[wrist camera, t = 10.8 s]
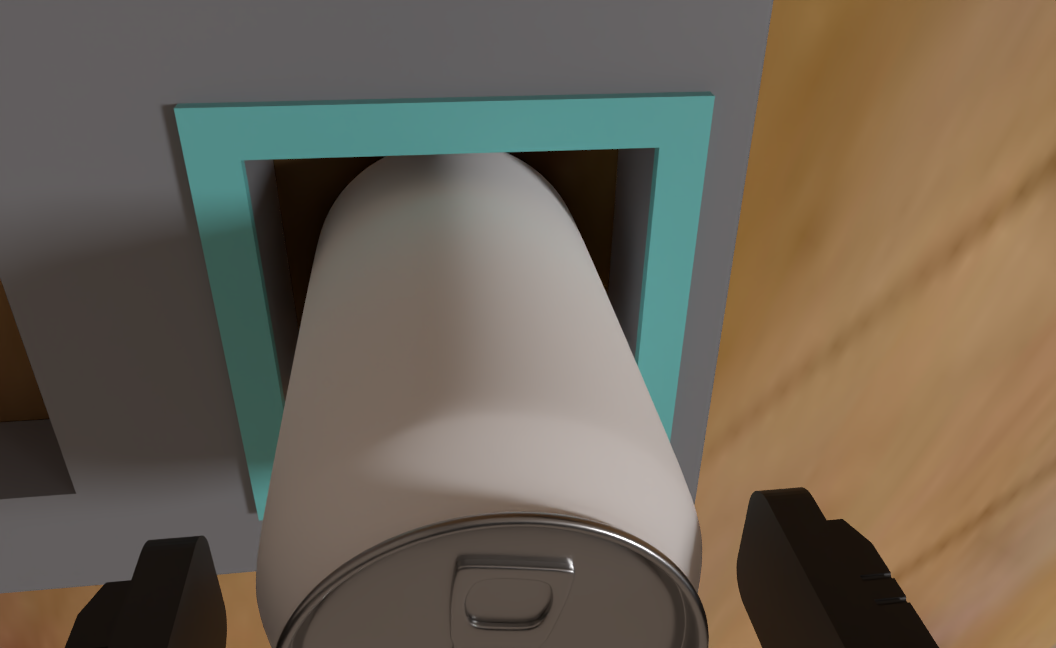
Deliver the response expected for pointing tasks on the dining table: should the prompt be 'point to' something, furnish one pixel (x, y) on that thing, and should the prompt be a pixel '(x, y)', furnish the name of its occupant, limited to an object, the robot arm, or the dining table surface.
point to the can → (470, 434)
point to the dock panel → (257, 231)
